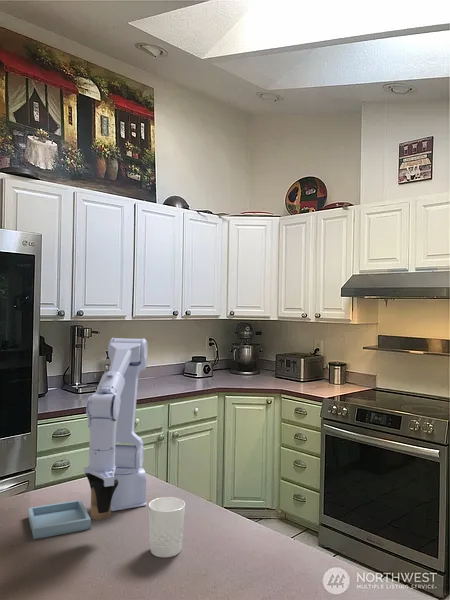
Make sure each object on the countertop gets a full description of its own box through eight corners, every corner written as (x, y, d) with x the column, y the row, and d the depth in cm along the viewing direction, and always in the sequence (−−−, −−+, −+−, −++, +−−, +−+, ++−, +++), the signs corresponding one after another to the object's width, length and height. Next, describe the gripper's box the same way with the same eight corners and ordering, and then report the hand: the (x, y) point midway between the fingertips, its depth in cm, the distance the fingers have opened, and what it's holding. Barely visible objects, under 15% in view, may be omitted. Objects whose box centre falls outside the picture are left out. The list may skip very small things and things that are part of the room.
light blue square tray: (80, 508, 126) (80, 499, 126) (90, 528, 115) (90, 519, 115) (28, 517, 121) (28, 507, 121) (33, 539, 109) (33, 528, 109)
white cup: (189, 545, 108) (190, 500, 109) (174, 562, 101) (175, 513, 101) (157, 538, 111) (158, 494, 111) (140, 555, 103) (142, 508, 104)
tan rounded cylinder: (108, 509, 112) (108, 483, 113) (112, 517, 109) (113, 490, 109) (88, 513, 110) (89, 486, 111) (92, 520, 107) (93, 493, 107)
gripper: (78, 440, 114) (76, 498, 114) (91, 458, 101) (89, 524, 101) (108, 437, 118) (106, 494, 117) (124, 454, 105) (122, 518, 104)
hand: (100, 507), depth 110 cm, fingers closed on tan rounded cylinder, 4 cm apart
